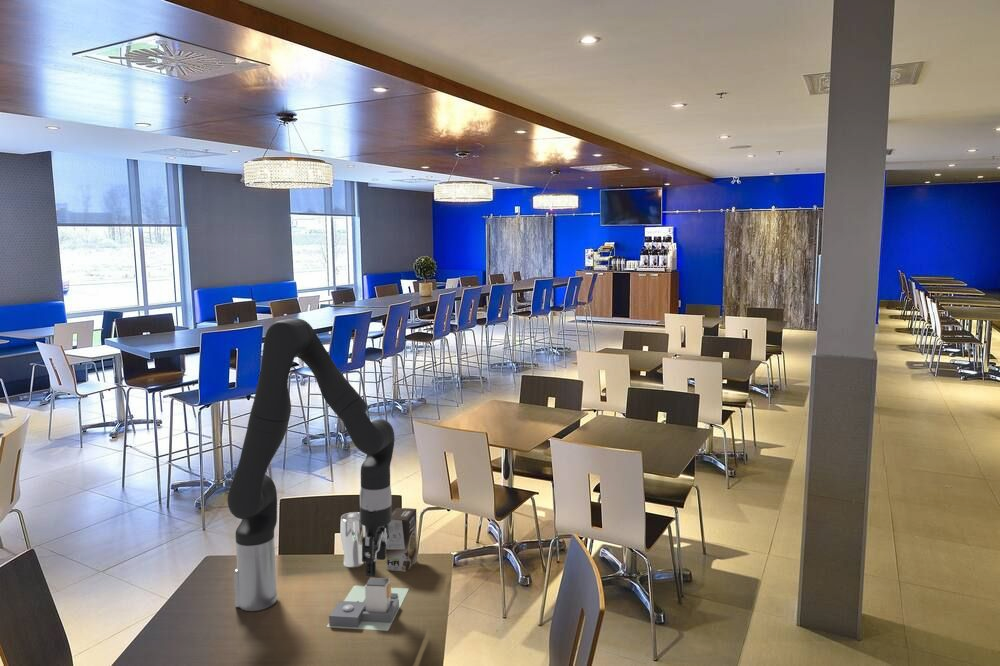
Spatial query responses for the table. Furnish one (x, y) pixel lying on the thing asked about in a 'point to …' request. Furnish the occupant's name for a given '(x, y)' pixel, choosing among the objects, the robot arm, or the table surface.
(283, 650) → the table surface
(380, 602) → the plug
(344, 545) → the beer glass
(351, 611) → the grey button block
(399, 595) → the board
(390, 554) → the coffee box
